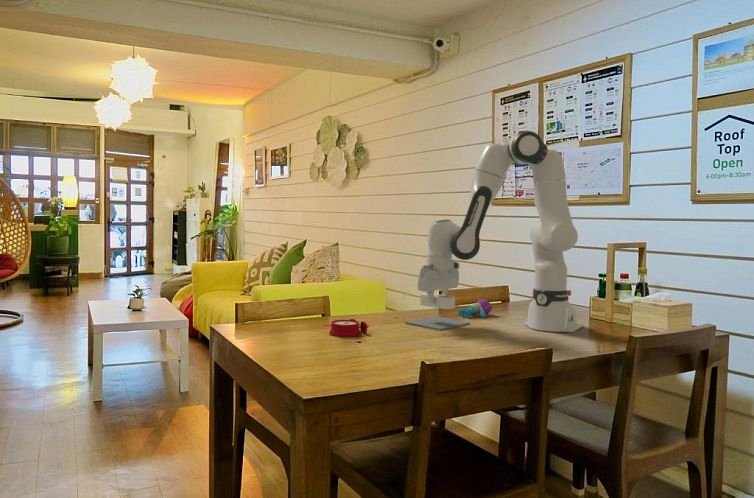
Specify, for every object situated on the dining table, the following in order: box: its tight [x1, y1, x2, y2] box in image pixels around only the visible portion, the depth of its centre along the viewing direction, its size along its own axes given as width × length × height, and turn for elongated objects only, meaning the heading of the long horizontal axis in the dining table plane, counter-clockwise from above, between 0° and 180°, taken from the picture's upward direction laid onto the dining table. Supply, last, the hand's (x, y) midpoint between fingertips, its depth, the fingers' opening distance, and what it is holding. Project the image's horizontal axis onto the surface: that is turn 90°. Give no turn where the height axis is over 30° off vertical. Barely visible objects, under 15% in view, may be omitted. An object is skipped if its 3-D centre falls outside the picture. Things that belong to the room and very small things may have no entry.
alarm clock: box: [323, 318, 370, 338], centre depth 198 cm, size 10×6×15 cm
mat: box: [404, 316, 471, 331], centre depth 218 cm, size 18×16×1 cm
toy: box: [458, 298, 494, 319], centre depth 237 cm, size 12×7×15 cm
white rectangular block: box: [419, 293, 456, 310], centre depth 217 cm, size 12×5×4 cm, turn 46°
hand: (437, 301), depth 217 cm, fingers closed on white rectangular block, 5 cm apart
